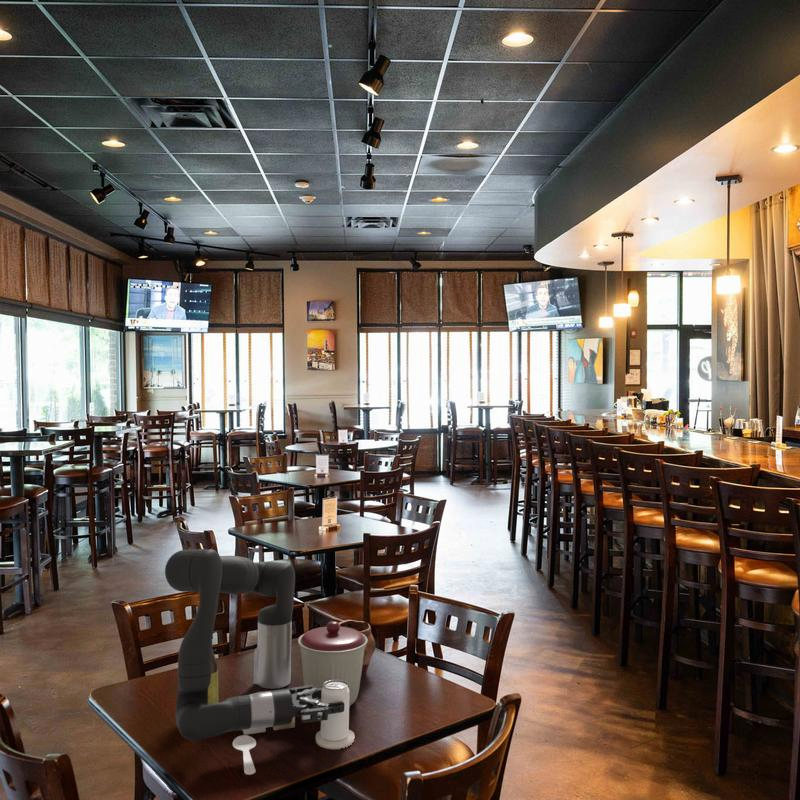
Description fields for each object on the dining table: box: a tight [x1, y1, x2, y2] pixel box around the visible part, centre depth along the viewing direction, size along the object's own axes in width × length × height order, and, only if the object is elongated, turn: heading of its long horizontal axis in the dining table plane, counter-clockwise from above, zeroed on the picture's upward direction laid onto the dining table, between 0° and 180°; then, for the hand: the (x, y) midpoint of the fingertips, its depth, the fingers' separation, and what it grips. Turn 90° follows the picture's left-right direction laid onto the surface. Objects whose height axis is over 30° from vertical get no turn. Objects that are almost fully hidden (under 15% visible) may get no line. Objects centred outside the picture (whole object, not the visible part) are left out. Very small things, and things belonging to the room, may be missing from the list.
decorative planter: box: [338, 619, 376, 676], centre depth 211 cm, size 20×12×14 cm, turn 29°
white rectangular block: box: [242, 728, 267, 736], centre depth 176 cm, size 5×5×6 cm
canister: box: [297, 620, 368, 708], centre depth 191 cm, size 18×18×21 cm
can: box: [320, 680, 350, 742], centre depth 171 cm, size 6×6×12 cm
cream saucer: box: [315, 729, 355, 750], centre depth 171 cm, size 9×9×1 cm
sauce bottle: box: [208, 637, 220, 704], centre depth 183 cm, size 7×6×20 cm
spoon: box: [232, 734, 257, 776], centre depth 163 cm, size 5×18×1 cm, turn 17°
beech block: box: [272, 716, 296, 731], centre depth 178 cm, size 5×5×6 cm
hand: (338, 699), depth 171 cm, fingers open, 8 cm apart
